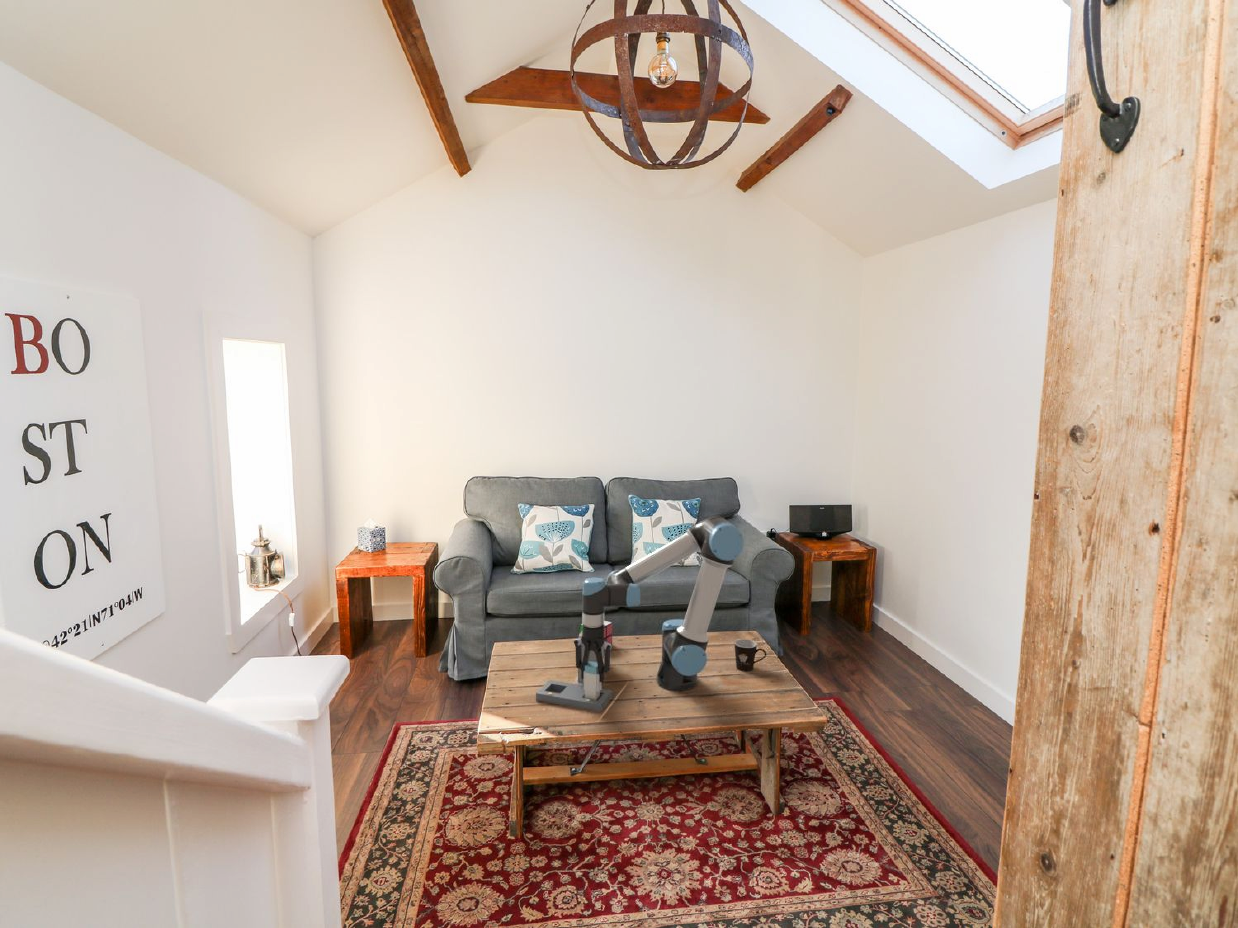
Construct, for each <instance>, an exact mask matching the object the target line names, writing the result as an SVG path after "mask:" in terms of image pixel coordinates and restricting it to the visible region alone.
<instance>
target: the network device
mask: <svg viewBox="0 0 1238 928" xmlns="http://www.w3.org/2000/svg"><path fill="white" fill-rule="evenodd" d="M581 637H582V631H581V633H580V632H579V635H578V637H577V638H579V639H580V638H581ZM581 647H582V661H583V656H584V650H585V646H584V644H583V643H582V644H581ZM601 649H602V658H603V659H604V657H605V650H604V645H603V646H602V647H601ZM589 661H591V662H597V659H596V655H595V652H594V651H590V654H589V659H588V662H589ZM574 684H577V685H583V686H584V679H582V678H581V669H579V668H577V676H576V677H575V679H574Z"/></svg>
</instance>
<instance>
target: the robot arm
mask: <svg viewBox="0 0 1238 928" xmlns="http://www.w3.org/2000/svg"><path fill="white" fill-rule="evenodd" d="M744 540H745V539H744V536H743V534H742V532H741V531H740V530H739V528H738V527H737V526H736V525H734V523H731V522H730V521H729V520H728V519H726V518H724V517H722V516H718V515H716V516H715V515H714V516H710V517H707V518H704V519H703V520H700V521H699V522H697V523H696V524H693V525H692V526H690V527H689V528H687V529H686V532H685V533H684V534H682V535H680V536H679V537H677V538H675V539H674V540H671V541H670V542H668V543H666V544H665V545H663V546H661V547H660V548H657V549H656V550H655V551H653V552H651V553H649V554H647V555H646V556H644V557H642V558H640V559H638V560H636V562H634V563H633V562H632V564H630V565H628V566H626V567H624V568H622V569H621V570H619V569H618V570H617V569H616V570H612V571H611V572H610V573H608V575H607V578H606V581H605V580H604V578H602V577H596V576H594V577H589V578H585V579H584V580H583V582H582V593H581V594H582V596H581V597H582V599H581V600H582V602H581V603H582V615H581V617H582V620H581V621H582V622H581V624H583V625H582V637H581V638H580V639H579V638H578V637H577V638H576V639H574V640H573V644H574V647H575V668H576V669H578V668H579V669H581V678H582V679H584V685H583V686H584V690H585V665H586V664H587V663H588V659H589V654H590V651H594V652H595V655H596V659H597V665H598V670H599V672H598V673H597V692H599V691H600V690H601V689H602V683H603V682H604V681H605V674H607V673H608V672H609V671H610V667H611V650H612V647H613V642H612V643H607V642H605V639H604V621H605V608H617V607H618V608H619V607H620V608H623V607H625V608H627V607H628V608H632V607H637V606H639V605H640V603H641V589H640V586H639V585H640V584H642V583H644V582H646V581H647V580H649V579H651V578H652V577H655V576H656V575H658V574H659V573H662V572H663V571H665V570H667V569H668V568H670V567H672V566H674V565H675V564H677V563H678V562H680V561H682V560H684V559H686V558H687V557H689V556H691V555H693V554H695V553H699V555H700V558H701V560H702V562H701V566H700V569H699V571H698V575H697V577H696V581H695V585H694V588H693V591H692V593H691V597H690V601H689V604H688V607H687V610H686V613H685V616H684V619H679V618H678V619H668V620H666V621H664V622H663V623H662V629H661V633H662V634H661V637H662V638H661V662H660V664H659V667H658V670H657V672H656V682H657V685H659V686H660V687H662V688H664V689H667V690H671V691H678V692H679V691H688V690H691V689H694V688H695V687H697V685H698V682H699V679H698V678H699V676H698V674H699V673H701V672H702V671H703V670H704V669H705V667H706V665H707V663H708V662H707V661H708V658H707V657H708V656H707V653H706V651H707V647H708V644H709V641H710V638H709V636H708V634H707V631H708V630H709V629H708V628H709V626H710V623H711V621H712V616H713V614H714V611H715V607H716V603H717V601H718V597H719V595H720V592H721V589H722V585H723V582H724V580H725V575H726V573H727V569H729V568H731V567H732V566H733V565H734V562H735V559H736V558H738V557H739V556H740V555H741V553H742V552H743V550H744V545H745V544H744V543H745V541H744ZM582 643H583V644H584V646H585V650H584V656H583V661H582V647H581V644H582ZM603 645H604V649H605V650H604V657H603V658H602V649H601V647H602V646H603Z"/></svg>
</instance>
